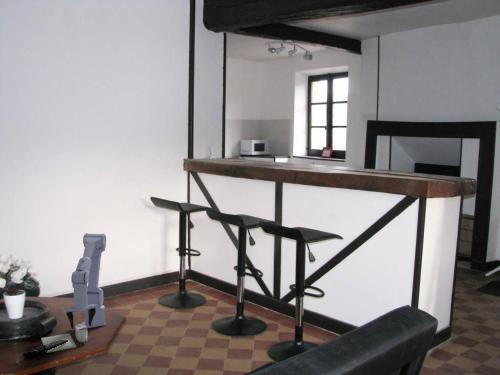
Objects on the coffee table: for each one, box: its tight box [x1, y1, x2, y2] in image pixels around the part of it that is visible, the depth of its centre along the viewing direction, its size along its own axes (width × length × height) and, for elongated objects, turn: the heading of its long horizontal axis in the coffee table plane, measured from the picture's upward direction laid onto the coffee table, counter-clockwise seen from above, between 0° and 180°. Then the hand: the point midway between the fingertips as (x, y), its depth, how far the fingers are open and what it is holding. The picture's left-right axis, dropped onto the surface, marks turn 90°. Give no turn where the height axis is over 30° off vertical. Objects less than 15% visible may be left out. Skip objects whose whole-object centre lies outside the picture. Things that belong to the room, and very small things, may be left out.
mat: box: [40, 333, 77, 353], centre depth 222 cm, size 12×16×1 cm
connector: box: [74, 323, 89, 343], centre depth 226 cm, size 4×13×5 cm, turn 30°
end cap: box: [31, 315, 58, 338], centre depth 233 cm, size 10×7×7 cm
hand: (81, 326), depth 227 cm, fingers open, 7 cm apart
